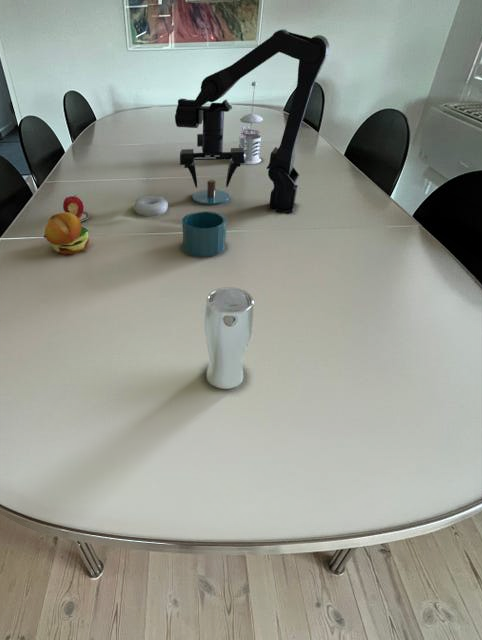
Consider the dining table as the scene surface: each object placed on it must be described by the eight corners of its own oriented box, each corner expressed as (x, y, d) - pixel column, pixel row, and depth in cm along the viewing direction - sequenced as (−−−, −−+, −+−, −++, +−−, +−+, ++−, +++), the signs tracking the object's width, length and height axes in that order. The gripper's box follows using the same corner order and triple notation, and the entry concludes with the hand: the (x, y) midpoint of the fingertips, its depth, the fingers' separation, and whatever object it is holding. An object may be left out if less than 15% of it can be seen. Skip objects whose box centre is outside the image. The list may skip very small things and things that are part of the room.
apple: (95, 217, 118) (91, 194, 113) (73, 226, 113) (68, 203, 109) (79, 210, 122) (74, 188, 118) (56, 219, 118) (51, 196, 113)
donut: (130, 218, 117) (164, 219, 115) (128, 206, 115) (163, 207, 113) (139, 205, 124) (171, 205, 122) (138, 193, 122) (170, 194, 120)
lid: (233, 195, 127) (234, 176, 124) (223, 208, 120) (224, 189, 116) (199, 191, 131) (199, 173, 127) (187, 204, 123) (187, 185, 119)
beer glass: (200, 363, 69) (202, 287, 59) (241, 360, 70) (249, 284, 60) (206, 393, 64) (209, 315, 54) (250, 389, 64) (260, 311, 54)
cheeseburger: (99, 239, 106) (89, 206, 98) (81, 267, 101) (69, 234, 93) (65, 234, 109) (52, 201, 101) (46, 261, 103) (31, 229, 95)
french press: (265, 158, 155) (273, 80, 139) (252, 167, 148) (260, 85, 132) (242, 155, 159) (247, 78, 143) (228, 163, 152) (232, 83, 136)
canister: (229, 241, 104) (231, 214, 99) (217, 259, 96) (218, 231, 92) (191, 235, 107) (191, 209, 102) (176, 253, 100) (176, 226, 95)
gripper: (243, 121, 118) (239, 177, 128) (179, 123, 119) (181, 178, 129) (248, 130, 110) (243, 189, 120) (179, 132, 110) (180, 191, 121)
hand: (211, 186), depth 123 cm, fingers open, 9 cm apart
